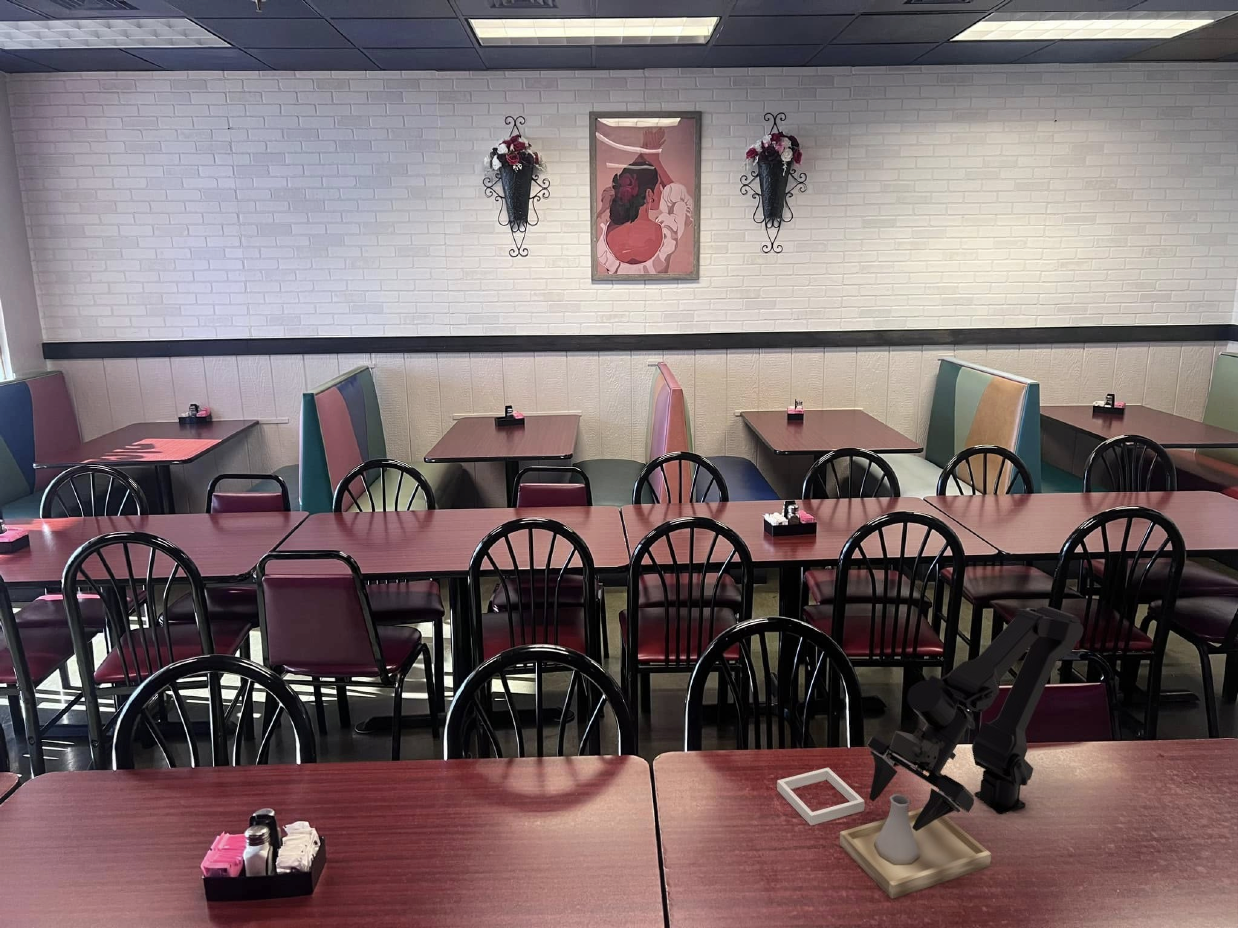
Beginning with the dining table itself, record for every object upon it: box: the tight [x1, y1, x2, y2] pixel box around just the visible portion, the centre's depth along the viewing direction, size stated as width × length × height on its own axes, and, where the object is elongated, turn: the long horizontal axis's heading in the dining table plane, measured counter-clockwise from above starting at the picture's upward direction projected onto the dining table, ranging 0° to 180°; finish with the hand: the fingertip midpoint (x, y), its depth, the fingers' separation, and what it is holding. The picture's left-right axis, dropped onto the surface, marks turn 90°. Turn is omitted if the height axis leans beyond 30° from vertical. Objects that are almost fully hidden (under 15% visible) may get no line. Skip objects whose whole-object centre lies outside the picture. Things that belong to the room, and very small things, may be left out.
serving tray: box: [839, 807, 992, 900], centre depth 141 cm, size 20×14×2 cm
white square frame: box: [776, 767, 866, 826], centre depth 156 cm, size 12×12×2 cm
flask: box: [874, 793, 920, 864], centre depth 140 cm, size 7×7×10 cm
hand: (892, 814), depth 139 cm, fingers open, 9 cm apart
